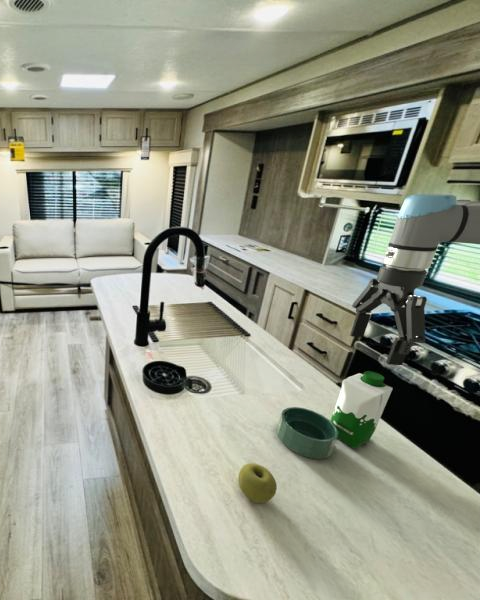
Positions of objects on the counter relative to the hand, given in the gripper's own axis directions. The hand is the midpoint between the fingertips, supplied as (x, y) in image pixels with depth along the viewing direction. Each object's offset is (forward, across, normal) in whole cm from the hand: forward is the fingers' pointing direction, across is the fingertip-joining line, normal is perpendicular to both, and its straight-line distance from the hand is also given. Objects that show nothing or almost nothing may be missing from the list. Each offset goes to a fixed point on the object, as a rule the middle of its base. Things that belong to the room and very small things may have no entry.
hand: (373, 349), depth 78 cm
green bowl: (+29, +2, -11) cm, 31 cm away
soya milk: (+29, -2, +3) cm, 30 cm away
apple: (+29, +22, -29) cm, 47 cm away
